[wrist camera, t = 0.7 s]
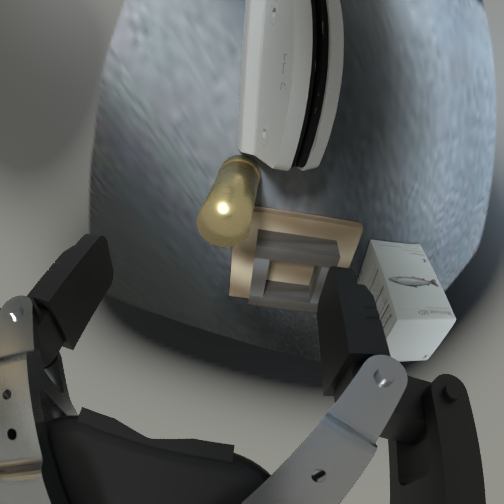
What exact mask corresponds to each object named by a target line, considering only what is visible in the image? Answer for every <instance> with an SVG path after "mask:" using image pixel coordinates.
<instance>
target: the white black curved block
mask: <svg viewBox="0 0 504 504" xmlns="http://www.w3.org/2000/svg"><path fill="white" fill-rule="evenodd" d="M343 56H344V30H343V18H342V10H341V4H340V0H246V3H245V16H244V30H243V45H242V61H241V77H240V94H239V113H238V133H237V148H238V149H239V150H240V151H241V152H244V153H247V154H251V155H255V156H256V157H257V158H259V159H260V160H262V161H263V162H264V163H266V164H267V165H268V166H270V167H271V168H272V169H279V170H285V171H288V170H289V169H290V168H291V167H294V166H295V167H297V168H298V169H300V170H301V171H304V170H308V169H312V168H316V167H318V166H319V164H320V162H321V159H322V157H323V155H324V152H325V149H326V146H327V143H328V140H329V137H330V134H331V130H332V127H333V123H334V119H335V115H336V111H337V105H338V100H339V94H340V88H341V81H342V72H343Z"/></svg>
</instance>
